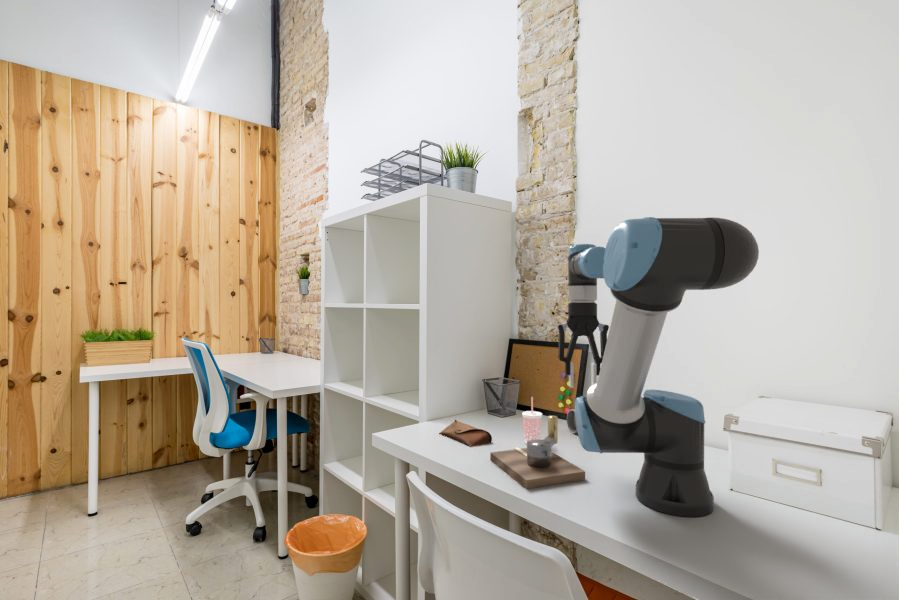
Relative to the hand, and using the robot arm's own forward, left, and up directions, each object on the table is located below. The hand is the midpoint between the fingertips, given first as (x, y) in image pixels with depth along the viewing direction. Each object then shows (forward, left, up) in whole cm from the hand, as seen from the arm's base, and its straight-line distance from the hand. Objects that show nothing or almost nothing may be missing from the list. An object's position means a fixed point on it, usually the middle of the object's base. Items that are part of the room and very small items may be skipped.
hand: (582, 387), depth 123 cm
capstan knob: (-1, +12, -17) cm, 21 cm away
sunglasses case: (+29, +23, -20) cm, 43 cm away
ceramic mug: (+23, -15, -20) cm, 34 cm away
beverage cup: (+17, +6, -20) cm, 27 cm away
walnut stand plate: (-2, +16, -20) cm, 25 cm away
